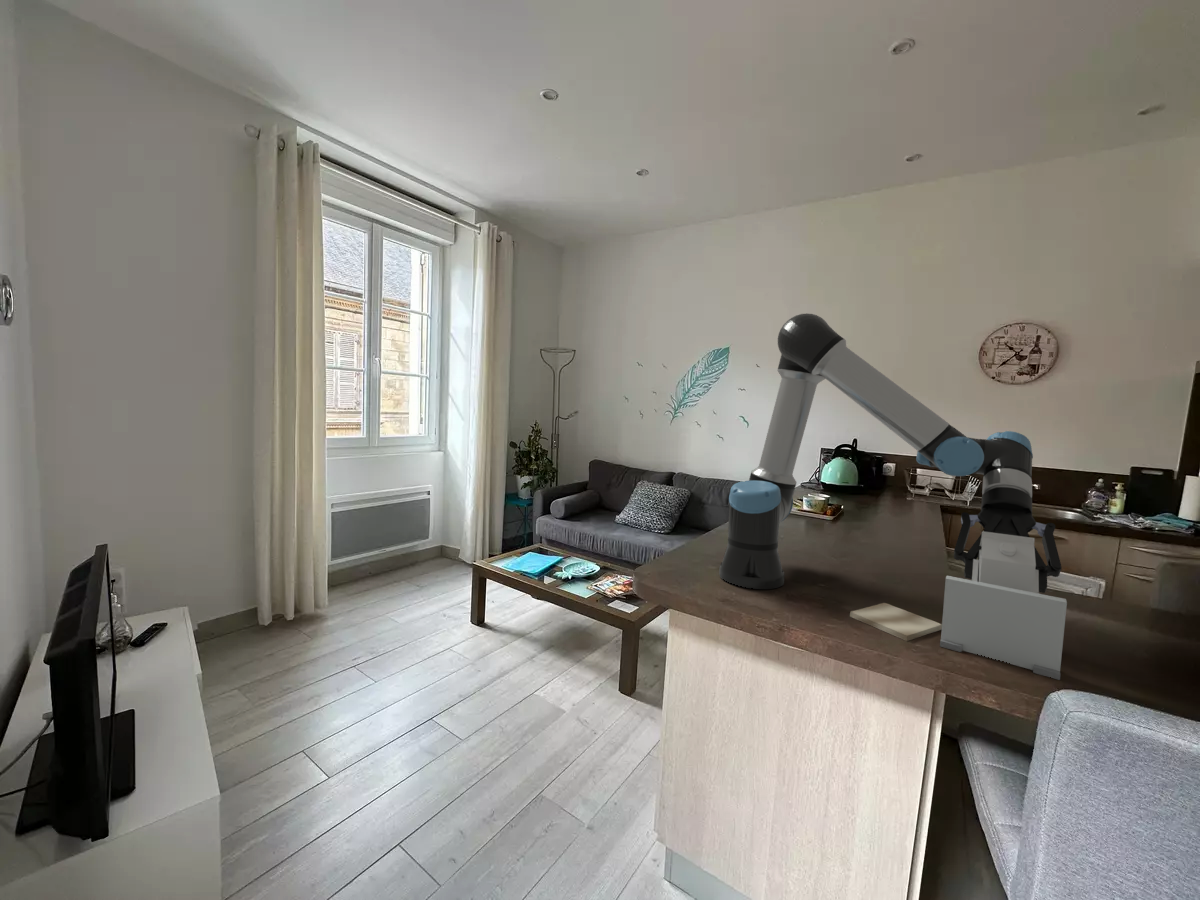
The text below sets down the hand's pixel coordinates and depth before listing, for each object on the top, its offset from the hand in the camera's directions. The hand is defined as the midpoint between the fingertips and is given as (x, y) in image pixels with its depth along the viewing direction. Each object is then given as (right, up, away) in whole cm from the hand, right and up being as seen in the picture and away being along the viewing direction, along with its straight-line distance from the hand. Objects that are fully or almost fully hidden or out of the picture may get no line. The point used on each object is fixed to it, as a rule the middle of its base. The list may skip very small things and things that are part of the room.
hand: (1003, 600), depth 81 cm
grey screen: (-4, -9, -3) cm, 10 cm away
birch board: (-13, -7, +9) cm, 18 cm away
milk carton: (+2, -8, +3) cm, 9 cm away
